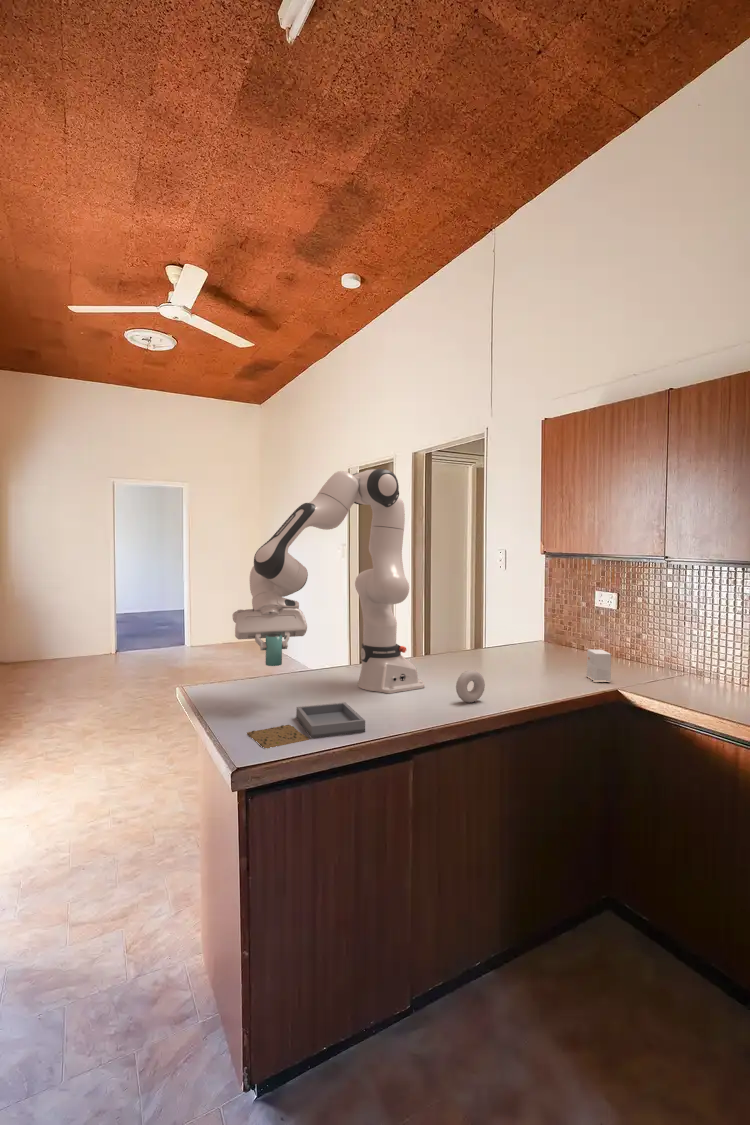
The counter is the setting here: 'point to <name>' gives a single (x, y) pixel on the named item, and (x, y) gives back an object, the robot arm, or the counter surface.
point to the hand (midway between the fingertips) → (274, 648)
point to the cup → (274, 650)
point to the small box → (599, 664)
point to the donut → (463, 682)
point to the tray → (330, 720)
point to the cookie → (277, 736)
